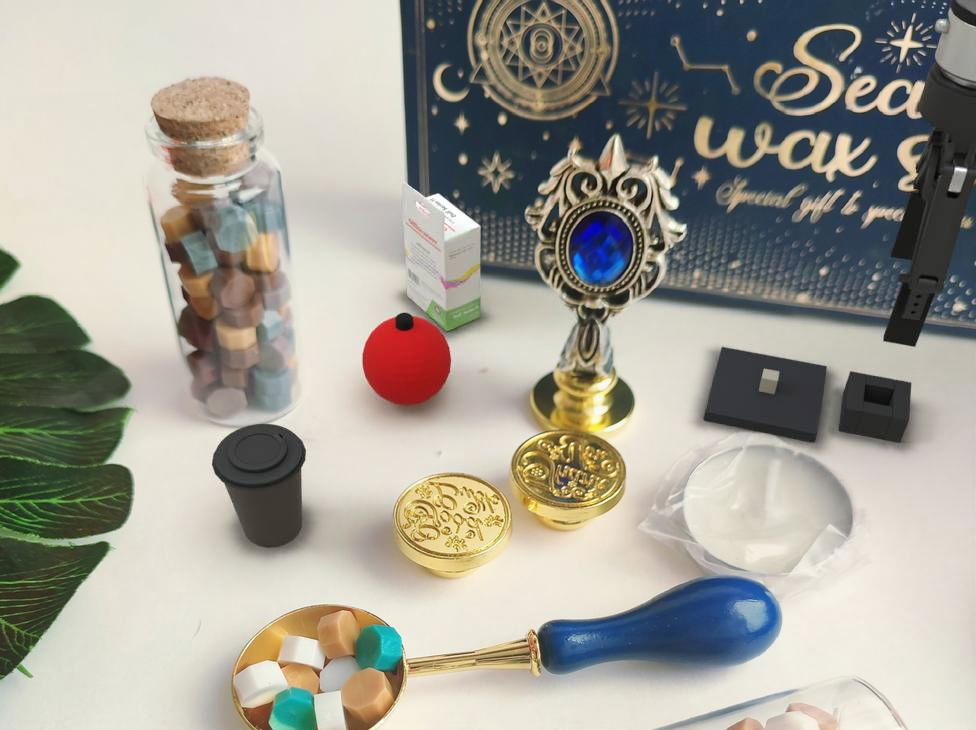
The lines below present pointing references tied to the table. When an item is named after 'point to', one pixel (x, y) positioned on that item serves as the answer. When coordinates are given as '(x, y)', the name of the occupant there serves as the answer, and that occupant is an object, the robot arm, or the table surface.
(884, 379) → the dark grey square block
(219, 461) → the coffee cup
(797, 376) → the base pad
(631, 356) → the table surface
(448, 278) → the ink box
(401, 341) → the ornament
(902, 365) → the table surface
